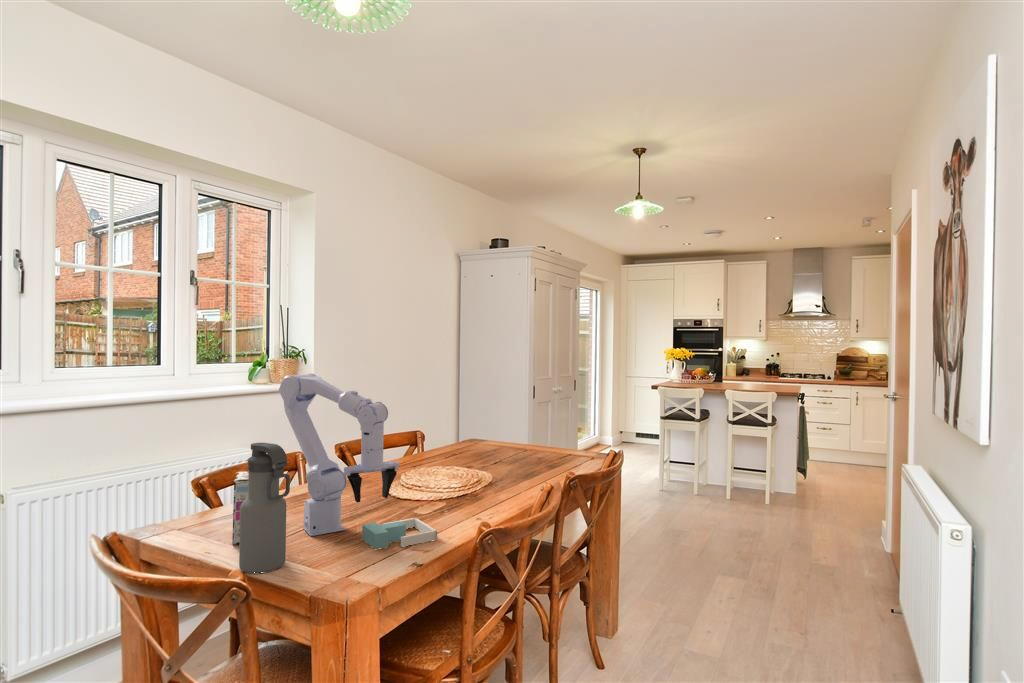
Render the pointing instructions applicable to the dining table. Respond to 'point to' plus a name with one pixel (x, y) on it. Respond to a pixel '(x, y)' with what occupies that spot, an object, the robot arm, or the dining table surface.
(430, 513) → the dining table surface
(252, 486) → the water bottle
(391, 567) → the dining table surface
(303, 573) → the dining table surface
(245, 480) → the candy bar box
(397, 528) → the t block
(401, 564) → the dining table surface
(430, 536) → the white u-shaped bracket
